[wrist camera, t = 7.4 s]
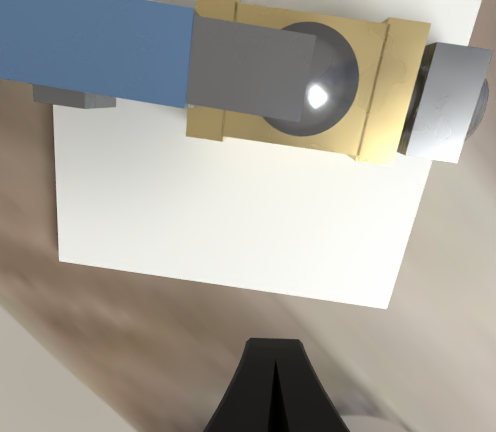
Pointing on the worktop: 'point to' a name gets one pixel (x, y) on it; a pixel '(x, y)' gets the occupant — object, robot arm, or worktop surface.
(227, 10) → the valve
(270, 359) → the robot arm
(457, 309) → the worktop surface
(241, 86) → the lever
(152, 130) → the board
